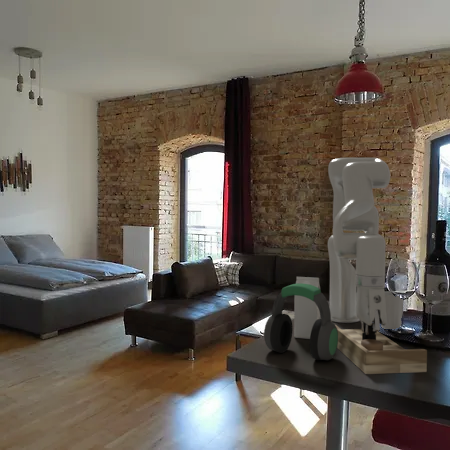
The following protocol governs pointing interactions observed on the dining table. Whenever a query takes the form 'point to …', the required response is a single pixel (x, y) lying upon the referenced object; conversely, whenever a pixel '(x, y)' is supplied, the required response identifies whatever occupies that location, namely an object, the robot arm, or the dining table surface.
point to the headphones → (282, 326)
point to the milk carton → (305, 310)
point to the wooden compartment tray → (380, 354)
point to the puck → (372, 344)
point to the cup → (393, 311)
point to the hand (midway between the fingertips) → (368, 347)
